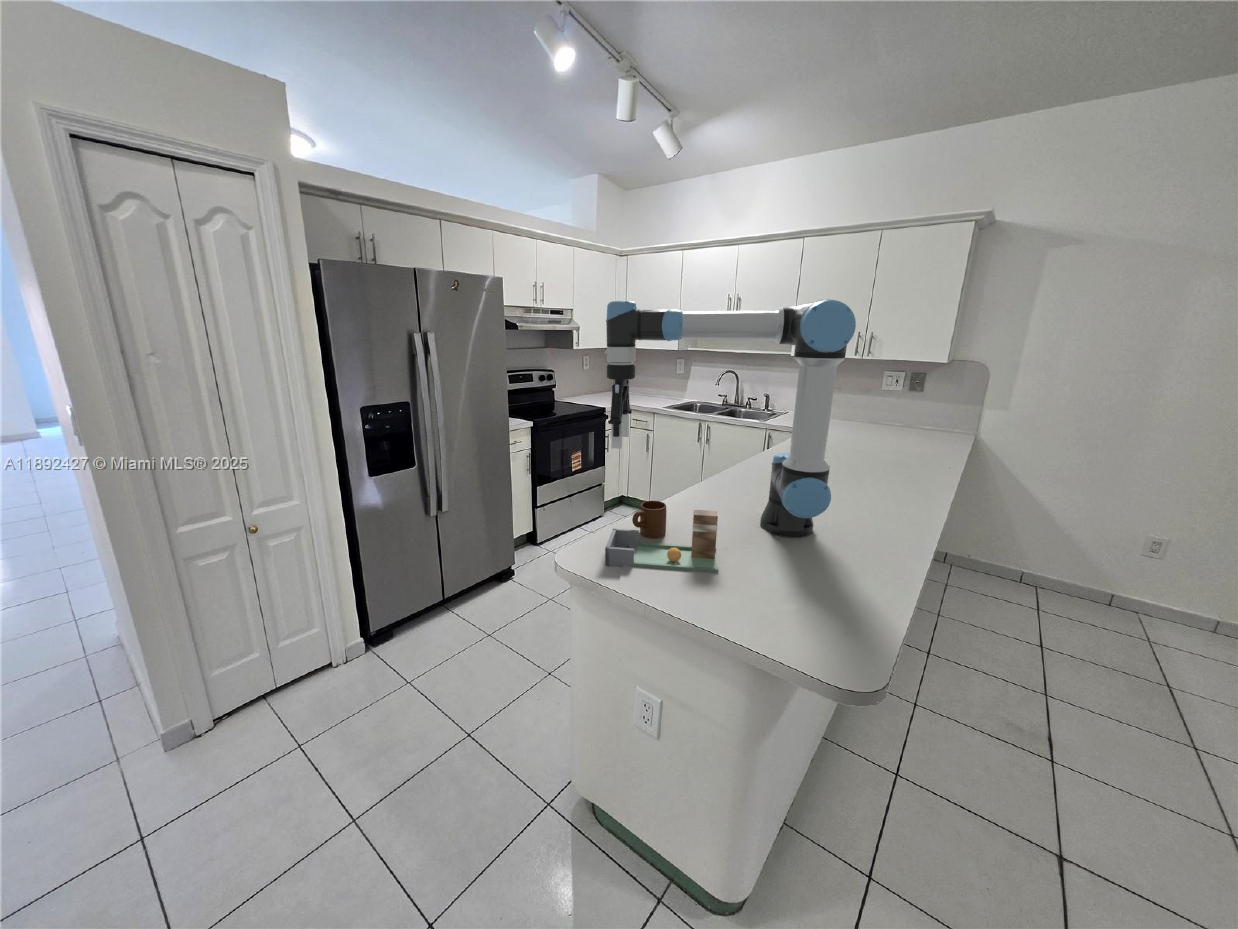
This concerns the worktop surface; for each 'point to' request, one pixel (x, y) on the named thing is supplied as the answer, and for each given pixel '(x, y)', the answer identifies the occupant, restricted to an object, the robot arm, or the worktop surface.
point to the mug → (651, 519)
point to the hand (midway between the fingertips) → (620, 442)
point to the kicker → (704, 534)
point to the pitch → (651, 554)
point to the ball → (674, 554)
